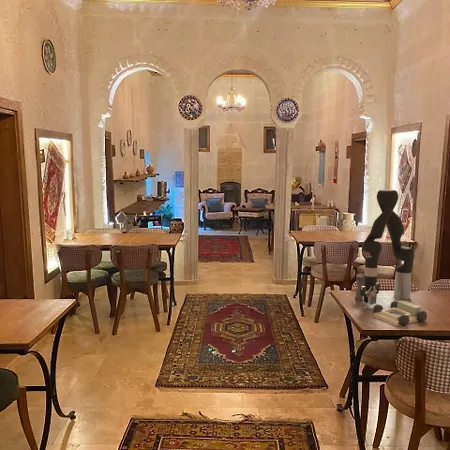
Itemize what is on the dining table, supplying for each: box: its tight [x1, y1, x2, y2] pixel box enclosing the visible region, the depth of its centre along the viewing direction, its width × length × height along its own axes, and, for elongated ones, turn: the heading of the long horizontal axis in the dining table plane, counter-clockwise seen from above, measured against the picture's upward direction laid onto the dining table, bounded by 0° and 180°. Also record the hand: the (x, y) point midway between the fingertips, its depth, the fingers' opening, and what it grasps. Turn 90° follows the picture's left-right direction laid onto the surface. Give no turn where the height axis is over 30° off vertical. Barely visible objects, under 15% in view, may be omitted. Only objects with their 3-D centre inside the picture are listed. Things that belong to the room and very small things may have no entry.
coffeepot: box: [354, 270, 367, 301], centre depth 280 cm, size 15×9×18 cm, turn 128°
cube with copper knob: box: [362, 291, 378, 306], centre depth 263 cm, size 6×6×7 cm
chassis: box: [372, 300, 428, 327], centre depth 247 cm, size 22×20×7 cm
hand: (369, 301), depth 263 cm, fingers closed on cube with copper knob, 5 cm apart
